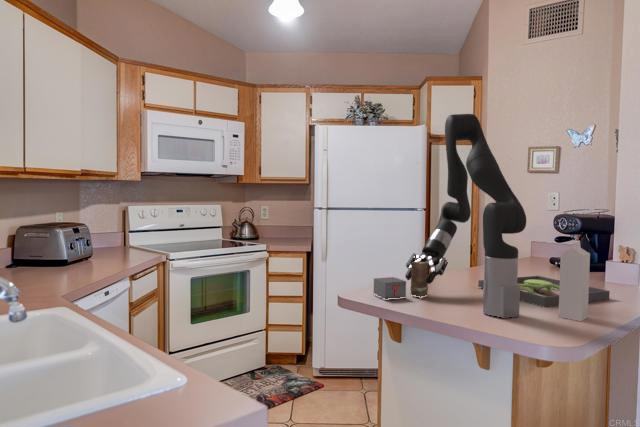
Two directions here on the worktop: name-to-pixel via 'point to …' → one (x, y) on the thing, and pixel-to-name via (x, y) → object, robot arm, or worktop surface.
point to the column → (419, 278)
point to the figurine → (537, 285)
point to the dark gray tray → (594, 295)
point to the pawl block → (390, 287)
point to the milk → (574, 283)
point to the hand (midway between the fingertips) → (417, 280)
